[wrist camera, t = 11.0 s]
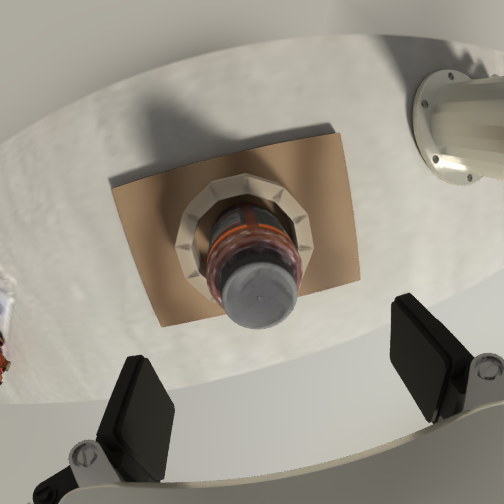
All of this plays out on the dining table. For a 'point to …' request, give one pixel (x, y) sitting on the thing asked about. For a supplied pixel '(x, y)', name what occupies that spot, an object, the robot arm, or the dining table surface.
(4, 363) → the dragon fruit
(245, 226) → the supplement bottle
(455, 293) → the dining table surface
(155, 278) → the socket board
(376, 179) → the dining table surface
